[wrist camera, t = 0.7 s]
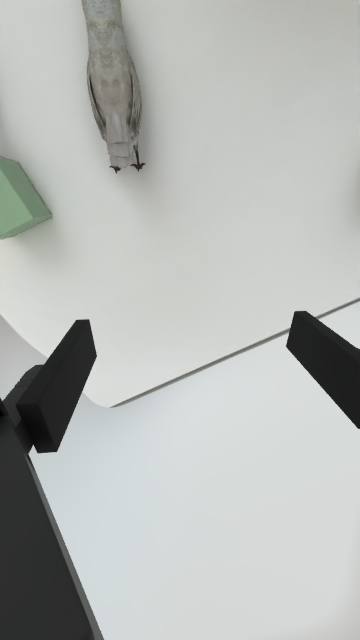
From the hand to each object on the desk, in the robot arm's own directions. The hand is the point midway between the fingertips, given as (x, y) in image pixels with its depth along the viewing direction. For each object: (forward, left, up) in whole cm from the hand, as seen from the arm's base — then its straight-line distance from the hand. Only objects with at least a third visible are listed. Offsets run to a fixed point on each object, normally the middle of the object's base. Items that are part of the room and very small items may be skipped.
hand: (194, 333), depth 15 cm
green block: (-5, -23, -24) cm, 34 cm away
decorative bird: (-18, -9, -25) cm, 32 cm away
